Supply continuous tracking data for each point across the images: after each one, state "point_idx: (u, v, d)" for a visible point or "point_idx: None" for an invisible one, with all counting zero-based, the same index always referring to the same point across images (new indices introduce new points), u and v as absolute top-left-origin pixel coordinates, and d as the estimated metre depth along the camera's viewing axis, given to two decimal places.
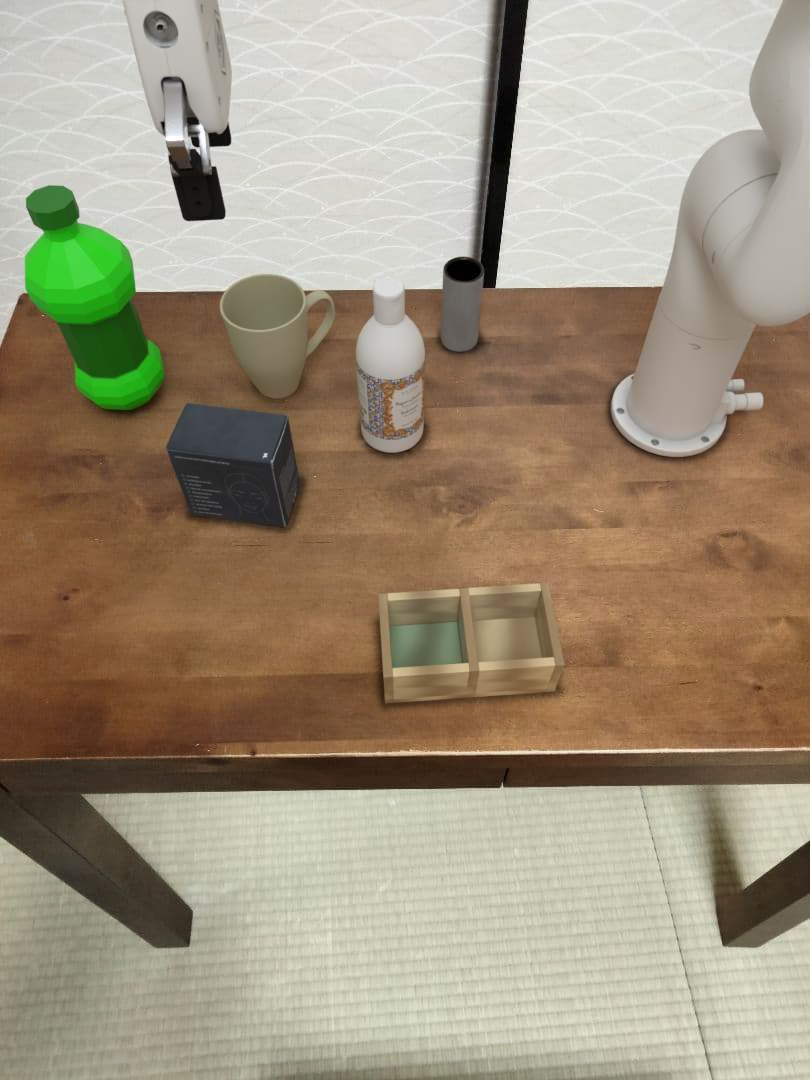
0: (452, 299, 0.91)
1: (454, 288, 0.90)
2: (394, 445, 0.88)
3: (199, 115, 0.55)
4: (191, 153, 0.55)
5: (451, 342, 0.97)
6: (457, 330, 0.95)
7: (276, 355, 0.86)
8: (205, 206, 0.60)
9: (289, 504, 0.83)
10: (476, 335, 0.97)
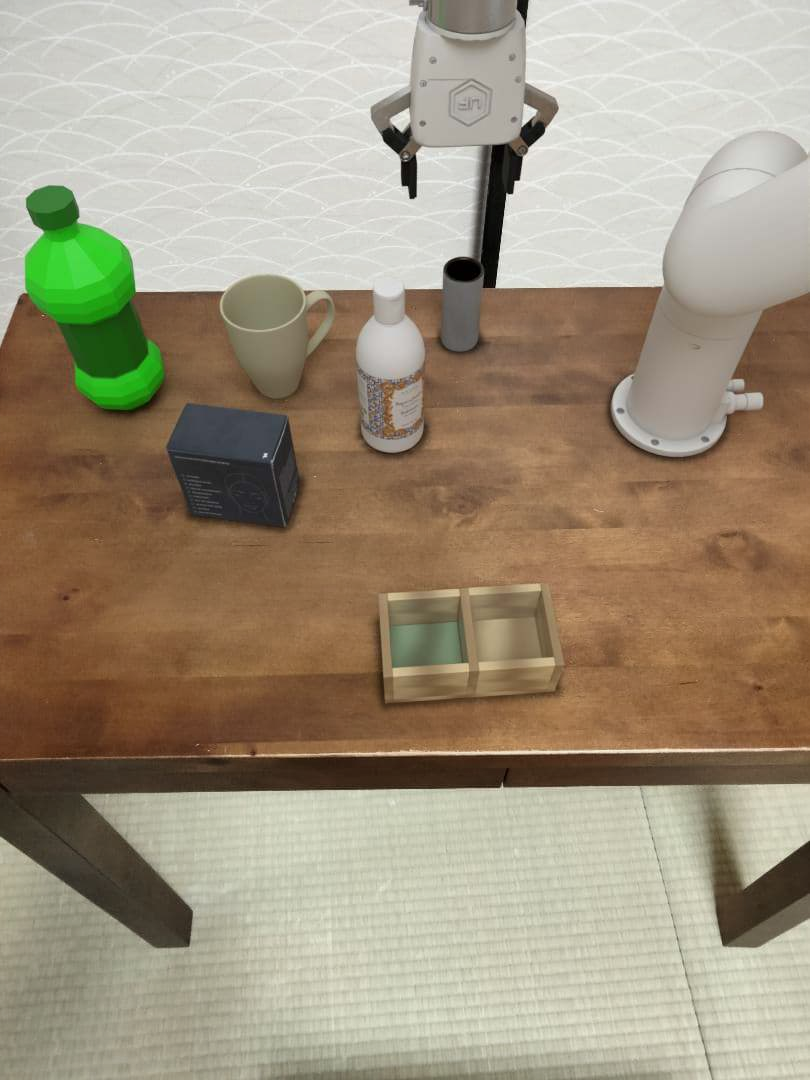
0: (452, 299, 0.91)
1: (454, 288, 0.90)
2: (394, 444, 0.88)
3: (410, 120, 0.74)
4: (385, 131, 0.75)
5: (451, 342, 0.97)
6: (457, 330, 0.95)
7: (276, 355, 0.86)
8: (401, 179, 0.80)
9: (289, 504, 0.83)
10: (476, 335, 0.97)
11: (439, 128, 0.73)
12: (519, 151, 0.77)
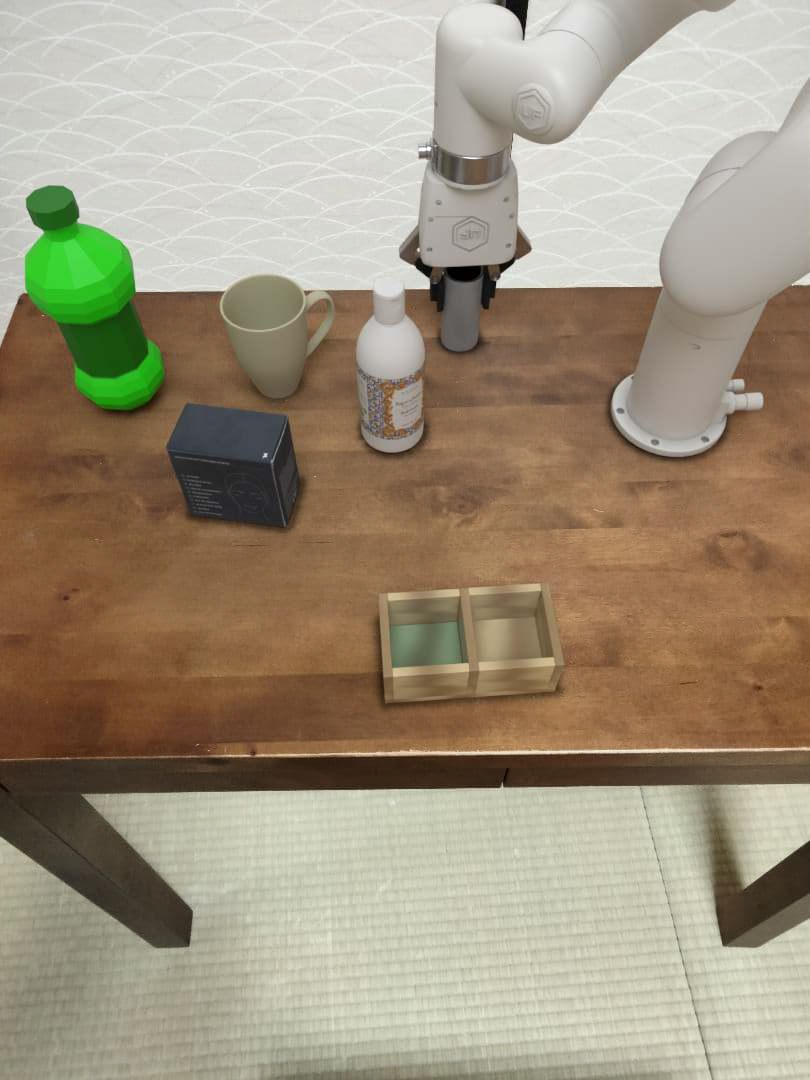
0: (452, 299, 0.91)
1: (454, 288, 0.90)
2: (394, 444, 0.88)
3: None
4: (417, 260, 0.88)
5: (451, 342, 0.97)
6: (457, 330, 0.95)
7: (276, 355, 0.86)
8: (430, 295, 0.93)
9: (289, 504, 0.83)
10: (476, 335, 0.97)
11: (444, 253, 0.85)
12: (493, 277, 0.90)
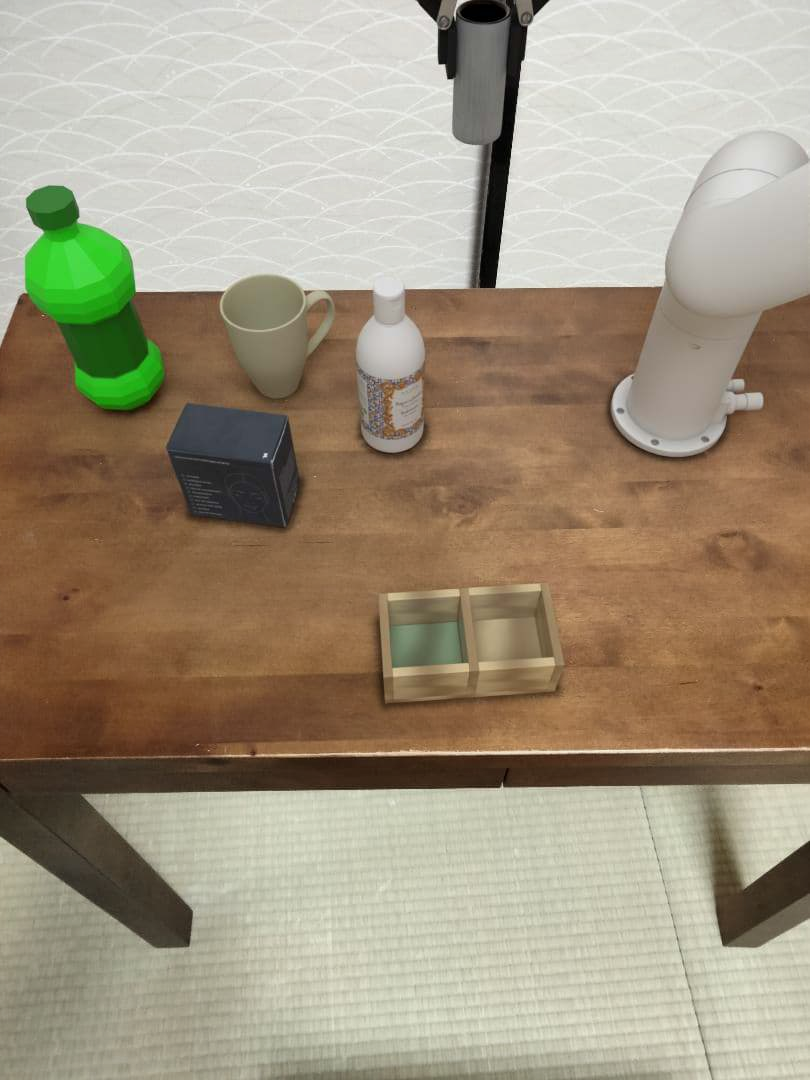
0: (467, 55, 0.68)
1: (470, 36, 0.67)
2: (394, 444, 0.88)
3: None
4: None
5: (466, 130, 0.73)
6: (474, 108, 0.71)
7: (276, 355, 0.86)
8: (438, 54, 0.69)
9: (289, 504, 0.83)
10: (499, 121, 0.73)
11: None
12: (523, 20, 0.66)
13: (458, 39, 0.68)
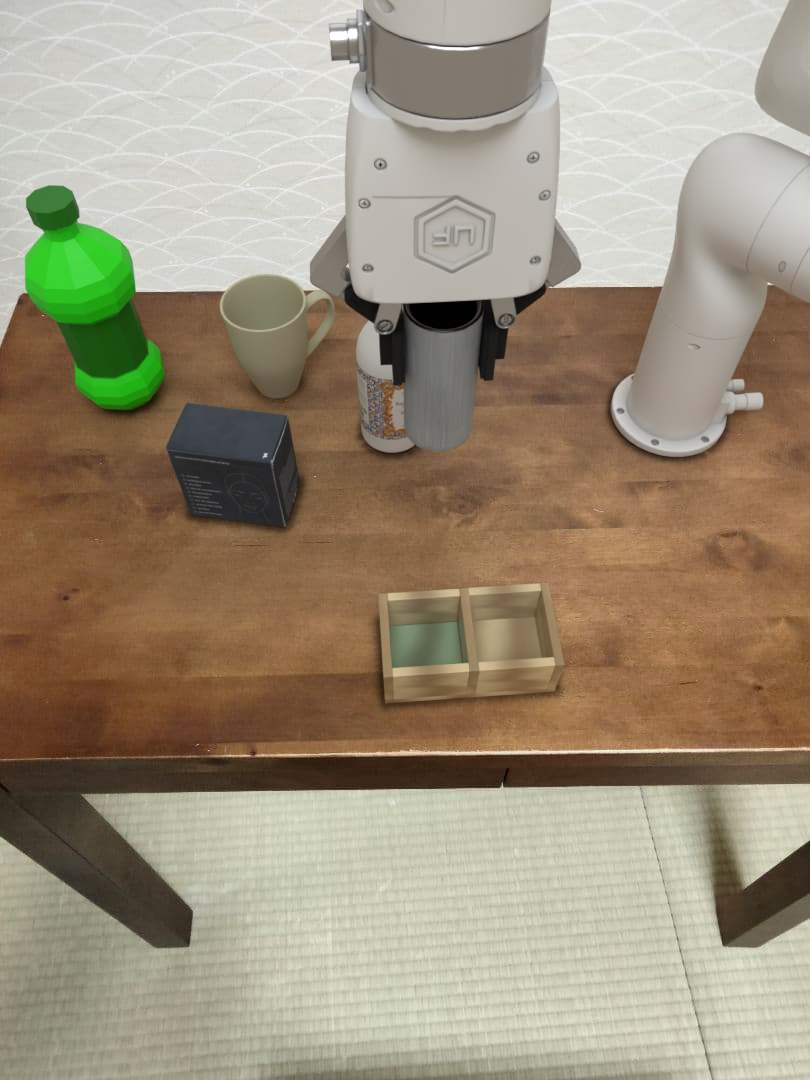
0: (421, 362, 0.47)
1: (424, 343, 0.45)
2: (394, 444, 0.88)
3: None
4: (348, 289, 0.43)
5: (422, 436, 0.52)
6: (433, 417, 0.50)
7: (276, 355, 0.86)
8: None
9: (289, 504, 0.83)
10: (469, 423, 0.52)
11: (399, 276, 0.40)
12: (501, 321, 0.45)
13: (407, 340, 0.46)
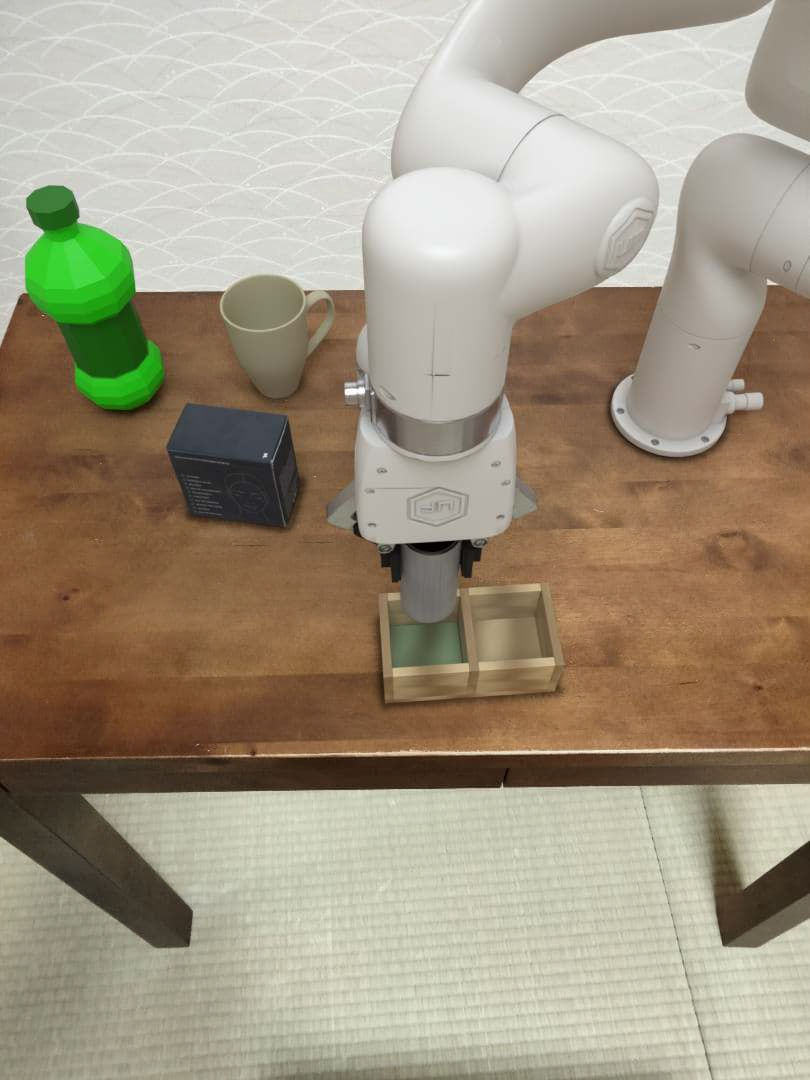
0: (414, 570, 0.59)
1: (416, 560, 0.57)
2: None
3: None
4: (356, 525, 0.55)
5: (415, 613, 0.64)
6: (423, 602, 0.62)
7: (276, 355, 0.86)
8: None
9: (289, 504, 0.83)
10: (453, 602, 0.64)
11: (396, 529, 0.52)
12: (476, 542, 0.57)
13: (402, 553, 0.58)
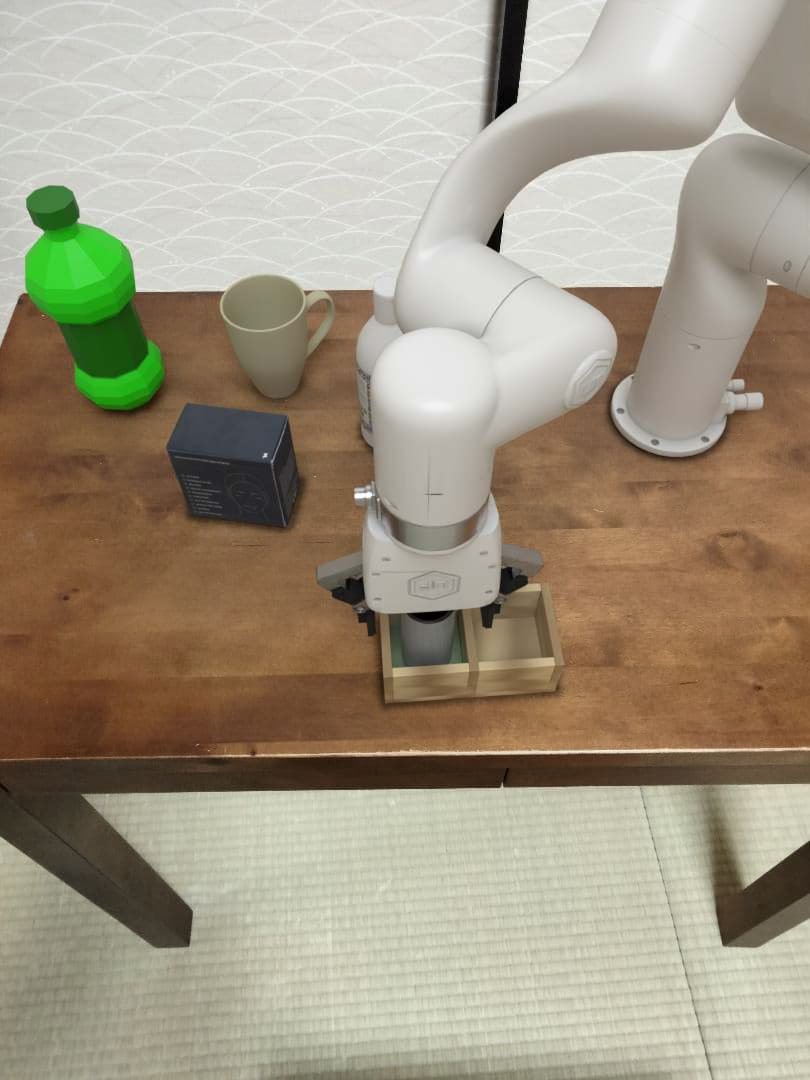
0: (414, 634, 0.67)
1: (416, 627, 0.66)
2: None
3: None
4: (334, 590, 0.63)
5: None
6: (422, 660, 0.71)
7: (276, 355, 0.86)
8: None
9: (289, 504, 0.83)
10: (448, 657, 0.73)
11: (398, 602, 0.60)
12: None
13: (404, 620, 0.67)
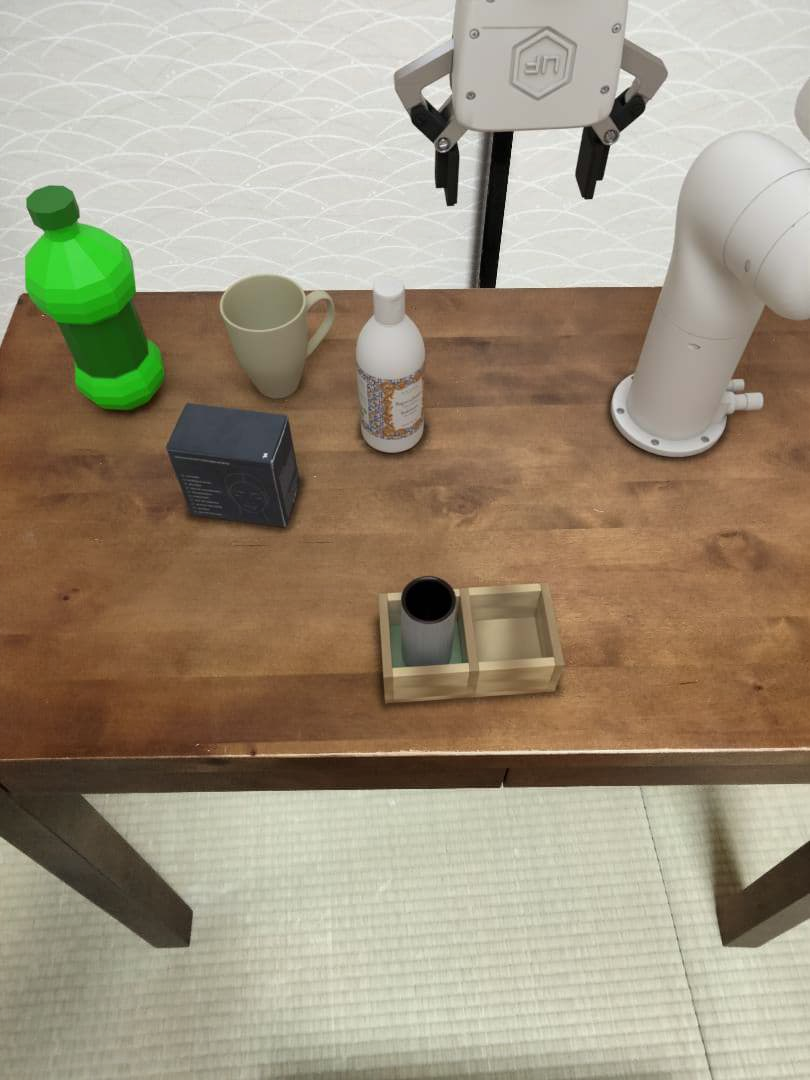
0: (413, 634, 0.67)
1: (415, 627, 0.66)
2: (394, 444, 0.88)
3: (452, 91, 0.51)
4: (415, 108, 0.52)
5: None
6: (422, 660, 0.71)
7: (276, 355, 0.86)
8: (436, 177, 0.56)
9: (289, 504, 0.83)
10: (448, 657, 0.73)
11: (495, 103, 0.50)
12: (606, 138, 0.54)
13: (404, 620, 0.67)
